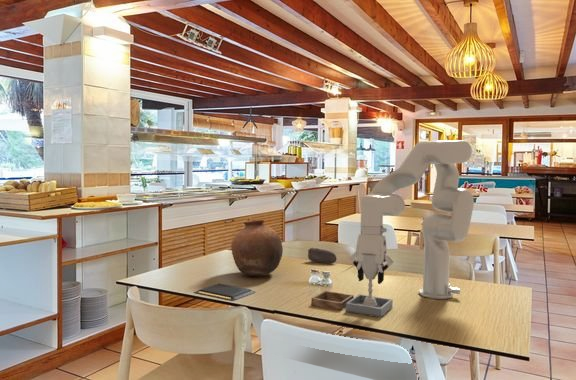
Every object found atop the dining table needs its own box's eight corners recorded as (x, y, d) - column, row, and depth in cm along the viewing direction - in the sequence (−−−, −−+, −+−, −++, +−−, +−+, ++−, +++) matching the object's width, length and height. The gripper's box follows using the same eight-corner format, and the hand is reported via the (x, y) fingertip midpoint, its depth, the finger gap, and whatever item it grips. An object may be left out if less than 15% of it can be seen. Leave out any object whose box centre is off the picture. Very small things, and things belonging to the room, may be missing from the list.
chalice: (356, 305, 167) (357, 253, 166) (363, 299, 173) (364, 250, 172) (377, 308, 163) (378, 256, 162) (383, 302, 169) (384, 252, 168)
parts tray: (392, 307, 171) (392, 299, 170) (381, 318, 160) (381, 309, 159) (358, 302, 177) (359, 294, 177) (345, 311, 166) (346, 303, 166)
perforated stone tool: (338, 263, 241) (338, 249, 241) (334, 265, 237) (334, 251, 236) (311, 260, 249) (311, 246, 248) (307, 262, 244) (307, 248, 244)
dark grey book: (256, 289, 188) (231, 298, 176) (256, 293, 188) (231, 303, 176) (218, 281, 199) (192, 289, 187) (218, 285, 200) (192, 294, 187)
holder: (353, 301, 177) (353, 295, 177) (341, 310, 167) (341, 303, 167) (324, 297, 183) (325, 290, 183) (311, 305, 173) (311, 298, 173)
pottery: (281, 281, 205) (282, 223, 204) (227, 280, 206) (227, 222, 204) (283, 268, 228) (283, 216, 226) (234, 268, 229) (234, 215, 227)
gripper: (399, 231, 165) (397, 282, 167) (352, 227, 174) (351, 276, 175) (392, 234, 159) (391, 287, 160) (344, 230, 167) (343, 280, 169)
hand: (370, 281), depth 168 cm, fingers closed on chalice, 6 cm apart
